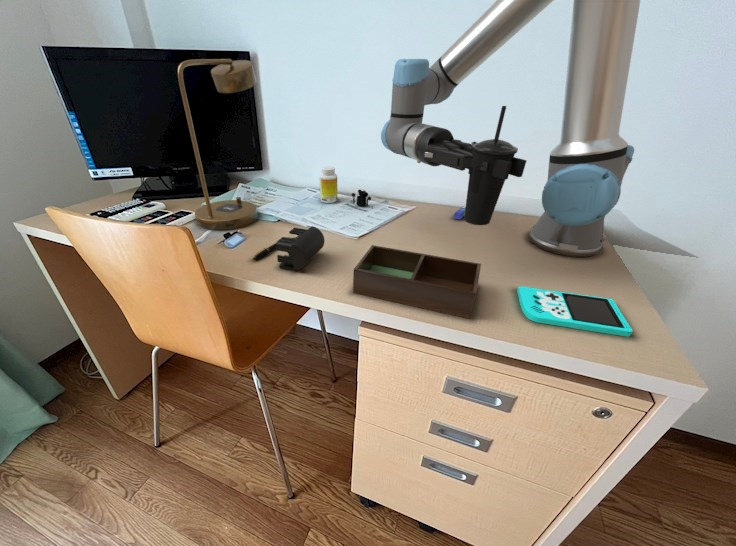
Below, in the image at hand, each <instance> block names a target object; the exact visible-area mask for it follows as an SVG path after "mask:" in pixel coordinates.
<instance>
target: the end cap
mask: <svg viewBox="0 0 736 546" xmlns="http://www.w3.org/2000/svg"><path fill="white" fill-rule="evenodd" d="M288 233H289V235H296V237H290V238H288V237H286V236H282V237H281V238H280V239H278V240H277V241H276V242H275V243H276V251H278V252H285V253H287V254H288V255H286V254H284V255H282V254H278V255H277V256H276V257H277V262H278V263H279V264H278V265H279V266H278V267H279V268H280V269H282V270H287V271H291V272H298V271H300V270H302V269H303V268H304V267H305V266H306V265H307V264H308V263H309V262H310V261H311V260H312V259H313V258H314V257H315V256H316V255H317V254H318V253H319V252H320V251H321V250H322V249H323V247H324V246H325V236H324V234H323V232H322V231H321V230H320V229H319V228H318V227H316V226H313V225H311V226H309V228H308V229H306V228H301V227H293V228H291V230H289V231H288Z"/></svg>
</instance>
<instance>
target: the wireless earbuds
mask: <svg viewBox="0 0 736 546" xmlns="http://www.w3.org/2000/svg"><path fill="white" fill-rule="evenodd" d="M357 193H358V195H357V196H356V193H355V192H352V193H351V197H353V198H352V203H353V204H355V203H356V205H357V206H358V207H361V208H365V207H368V206H369V201H371V200H372V197H371V196H369V193H368V192H367V191H366V190H362V189H357ZM355 198H356V199H355ZM355 200H356V201H355Z"/></svg>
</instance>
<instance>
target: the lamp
mask: <svg viewBox="0 0 736 546" xmlns="http://www.w3.org/2000/svg"><path fill="white" fill-rule="evenodd" d="M203 65H204V66H206V65H207V66H208V65H216V66H214V67H213V68H212V69H211V70H210V74H211V78H212V80H213V83H214V85H215V89H216V91H217V92H218V93H220V94H234V93H240V92H242V91H243V92H244V91H246V90H248V89H251V88H253V86H255V85H256V84H257V82H258V81H257V76H256V72H255V69H254V66H253V62H252V61H251V60H247V59H237V60H232V58H211V59H210V58H199V59H197V58H196V59H187V60H184V61H181V62H180V63H179V64H178V66H177V79H178V86H179V90H180V95H181V99H182V103H183V108H184V112H185V117H186V121H187V126H188V130H189V135H190V138H191V139H190V140H191V143H192V148H193V152H194V157H195V160H196V165H197V170H198V174H199V178H200V183H201V188H202V192H203V197H204V201H205V204H204V205H202V206H200V207H198V208H197V209H196V210H195V212H194V216H195V217H194V218H195V222H196V224H197V225H198V227H200V228H203V229H206V230H212V231H228V230H235V229H240V228H243V227H246V226H248V225H250V224H253V223H254V222H255V221H256V220H257V219H258V208H257V206H256V204H255V203H253V202H250V201H247V200H242V197H241V196H237V197H235V198H236V199H226V200H220V201H219V200H218V201H213V202H210V197H209V191H208V187H207V183H206V179H205V178H206V177H205V174H204V168H203V164H202V161H201V160H202V159H201V156H200V151H199V146H198V142H197V141H198V140H197V137H196V132H195V127H194V123H193V119H192V114H191V109H190V105H189V100H188V97H187V92H186V86H185V81H184V70H185V68H187V67H190V66H191V67H192V66H203Z"/></svg>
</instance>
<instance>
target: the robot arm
mask: <svg viewBox="0 0 736 546" xmlns="http://www.w3.org/2000/svg"><path fill="white" fill-rule="evenodd" d="M554 1H555V0H496V1H494V3H492V5H491V6H490V7H489V8H488V9H487V10H486V11H484V12H483V14H482V15H480V17H479V18H478V19H477V20H476V21H474V23H472V25H471V26H470V27H468V28H467V30H466V31H465V32H463V34H462V35H461V36H460V37H458V39H457V40H456V41H455V42H454V43H453V44H452V45H450V47H449V48H448V49H447V50H446V51H445V52H444V53H443V54H442V55H441V56H440V57H439V58H438V59H437V60H436V61H435V62H434V63H433V64H432V65H431V66H430V62H429V60H428V59H427V58H399V59H398V60H396V62H395V63H394V71H393V77H392V89H391V92H392V93H391V102H390V103H391V105H390V116H389V119H388V120H387V121H386V122H385V123H384V124H383V127H382V129H381V132H380V141H381V143H382V145H383V146H384V148H385V149H386V150H388V151H391V152H392V153H393V154H396V155H400V156H404V157H406V158H409V159H412V160H414V161H416V163H417V164H421V163H423V164H424V165H428V166H430V167H439V166H445V167H448V168H452V169H455V170H458V171H466V169H467V170H468V172H467V174H468V175H470V174H471V170H472V168H473V162H474V159H473V155H472V151H473V150H472V149H471V147H472V145H474V144H477V143H478V142H477V141H471V143H470V142H464V141H462V140H461V139H455V138H454V135H453V133H452V132H451V130H449V129H447V128H444V127H440V126H435V125H431V124H427V123H423V118H424V112H425V106H429V105H437V104H440V103H443V102H444V101H447V100H448V99H450V97H451V96H452V94H453V92H454V90H455V89H456V88H457V86H459V85H460V84H461V83H462V82H463V81H464V80H466V78H468V77H469V76H470V75H471V74H472V73H474V71H476V70H477V69H478V68H479V67H480V66H481V65H482V64H484V63H485V62H486V61H487V60H488V59H489V58H490V57H492V56H493V55H494V54H495V53H496V52H497V51H499V49H501V48H502V47H503V46H504V45H505V44H506V43H508V42H509V40H511V39H512V38H513V37H515V35H517V34H518V33H519V32H520V31H521V30H522V29H524V28H525V27H526V26H527V25H528V24H529V23H531V21H532V20H534V19H535V18H536V17H537V16H538V15H539V14H540V13H541V12H543V11H544V10H545V9H546V8H547V7H549V6H550V5H551V4H552V3H553V2H554ZM640 6H641V0H573V4H572V12H571V13H572V15H571V25H570V32H569V33H570V34H569V46H568V55H567V57H568V58H567V66H566V76H565V87H564V88H565V89H564V96H563V97H564V99H563V109H562V120H561V127H560V129H561V130H560V141H559V143H557V145H556V146H554V148H553V149H552V150H550V152H549V160H548V170H547V171H548V172H547V181H546V183H545V185H544V186H543V189H542V193H541V204H542V209H543V211H544V212H543V213H542V214H541V216H540V217H539V219H538V220H537V222H536V223H535V224H534V225H533V226H532V227H531V229H530V231H529V234H528V239H529V241H530V242H531V244H532V245H534V246H535V247H538V248H539V249H541V250H544V251H547V252H549V253H553V254H556V255H561V256H565V257H573V258H575V257H576V258H586V257H593V256H595V255H597V254H598V253H600V251H601V249H602V247H603V244H604V239H603V238H604V229H605V228H604V227H605V219H606V216H607V215H608V214H609V213H610V212H611V211H612V210H613V208H615V206H616V205H617V204H618V202H619V200H620V197H621V193H622V191H621V190H622V189H621V188H622V183H623V179H624V176H625V174H626V171H627V170H628V167H629V166H630V164H631V163H632V161H633V156H634V154H635V147H634V146H633V145H630V144H629V143H628V142H627V141H626V140H625V139H624V138H623V137H621V135H620V130H621V129H620V128H621V121H622V115H623V109H624V104H625V103H624V102H625V98H626V92H627V85H628V81H629V80H628V79H629V72H630V67H631V61H632V56H633V55H632V54H633V48H634V42H635V37H636V29H637V24H638V18H639V11H640ZM489 164H490V163H486V162H483V164H482V165H483V166H484V167H482V166H481V168H480V170H482V171H488V170H489ZM526 164H527V159H523V158H519V157H515V156H514V157H513V158H512V161H511V162H509V161H505V160H497V159H496V161H495V164H494V167H493V170H492V173H491V176H495V177H498V178H501V179H504V180H505V181H506V180H508V179H509V175H510V176H513V177H516V178H523V174H524V171H525V168H526Z"/></svg>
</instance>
